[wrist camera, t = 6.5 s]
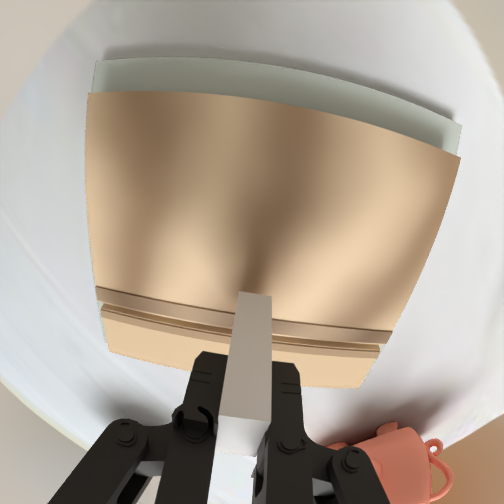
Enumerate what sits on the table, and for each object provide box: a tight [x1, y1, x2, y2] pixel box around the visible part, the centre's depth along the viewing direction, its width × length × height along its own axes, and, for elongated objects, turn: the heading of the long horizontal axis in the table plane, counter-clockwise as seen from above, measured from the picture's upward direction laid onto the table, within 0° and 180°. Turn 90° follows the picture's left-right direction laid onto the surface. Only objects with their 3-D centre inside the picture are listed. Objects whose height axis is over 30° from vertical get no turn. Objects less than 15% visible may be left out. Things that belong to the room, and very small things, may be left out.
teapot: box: [327, 422, 454, 504], centre depth 21 cm, size 15×17×13 cm
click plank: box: [85, 91, 461, 345], centre depth 14 cm, size 18×12×1 cm, turn 81°
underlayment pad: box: [89, 57, 462, 388], centre depth 16 cm, size 20×19×2 cm
